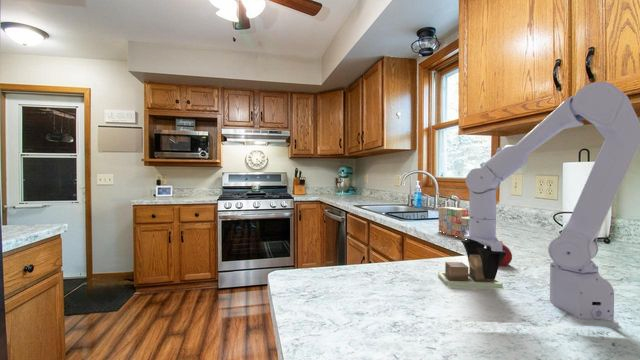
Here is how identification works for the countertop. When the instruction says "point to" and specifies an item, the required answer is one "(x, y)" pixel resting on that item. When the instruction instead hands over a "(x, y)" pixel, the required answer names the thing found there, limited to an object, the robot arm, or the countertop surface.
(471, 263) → the two tone block
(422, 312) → the countertop surface
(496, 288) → the base plate
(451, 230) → the stack of blocks
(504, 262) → the onion
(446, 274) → the walnut block
